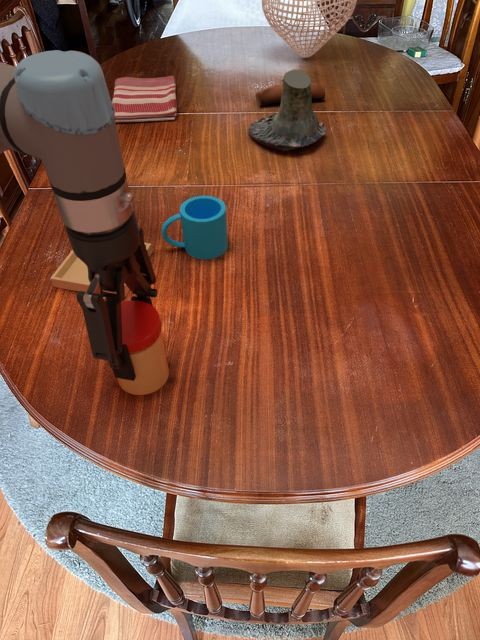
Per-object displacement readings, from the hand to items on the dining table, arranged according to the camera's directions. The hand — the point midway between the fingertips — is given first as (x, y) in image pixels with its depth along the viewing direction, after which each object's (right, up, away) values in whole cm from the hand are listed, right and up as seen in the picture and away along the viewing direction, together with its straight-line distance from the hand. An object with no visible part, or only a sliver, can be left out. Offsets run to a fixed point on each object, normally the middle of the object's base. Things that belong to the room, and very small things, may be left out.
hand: (137, 353), depth 72 cm
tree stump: (+24, +53, +53) cm, 78 cm away
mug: (+5, +20, +24) cm, 31 cm away
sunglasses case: (+25, +69, +67) cm, 99 cm away
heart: (+31, +92, +87) cm, 130 cm away
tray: (-11, +15, +20) cm, 27 cm away
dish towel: (-14, +67, +65) cm, 94 cm away
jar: (0, -3, +4) cm, 5 cm away
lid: (0, +4, -5) cm, 6 cm away
